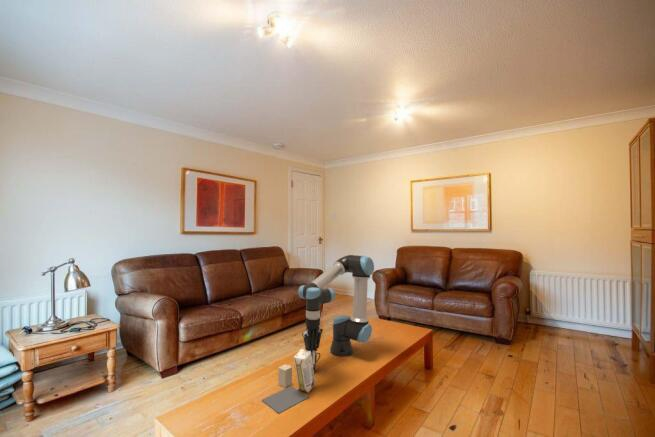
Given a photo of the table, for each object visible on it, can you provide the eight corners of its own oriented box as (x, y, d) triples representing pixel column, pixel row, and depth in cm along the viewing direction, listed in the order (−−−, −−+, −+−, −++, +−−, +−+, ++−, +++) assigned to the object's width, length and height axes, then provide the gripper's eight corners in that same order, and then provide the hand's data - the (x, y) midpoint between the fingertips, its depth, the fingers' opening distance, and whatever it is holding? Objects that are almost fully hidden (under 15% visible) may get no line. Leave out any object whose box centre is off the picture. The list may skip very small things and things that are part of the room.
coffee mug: (303, 375, 167) (303, 357, 167) (300, 368, 175) (300, 351, 176) (323, 373, 170) (323, 355, 170) (319, 366, 178) (320, 349, 179)
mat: (291, 386, 156) (291, 385, 156) (309, 397, 146) (309, 396, 146) (261, 400, 143) (261, 399, 143) (278, 413, 133) (278, 412, 133)
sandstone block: (284, 380, 161) (285, 364, 162) (291, 383, 159) (292, 366, 159) (278, 384, 157) (278, 367, 158) (285, 387, 154) (285, 370, 155)
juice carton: (317, 382, 156) (313, 350, 153) (308, 394, 149) (303, 360, 145) (305, 379, 160) (301, 347, 156) (296, 390, 153) (291, 357, 149)
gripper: (317, 313, 165) (316, 357, 164) (298, 318, 156) (297, 364, 155) (326, 316, 159) (325, 361, 159) (308, 322, 150) (307, 369, 149)
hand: (312, 363), depth 157 cm, fingers closed
